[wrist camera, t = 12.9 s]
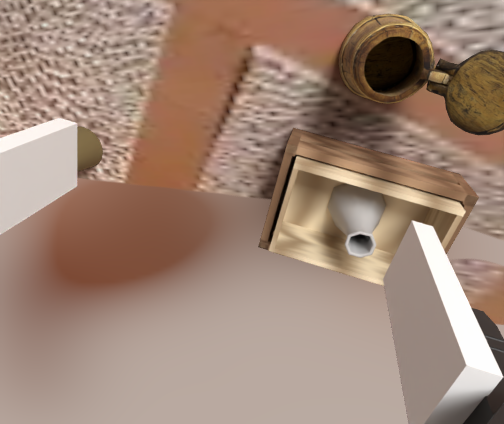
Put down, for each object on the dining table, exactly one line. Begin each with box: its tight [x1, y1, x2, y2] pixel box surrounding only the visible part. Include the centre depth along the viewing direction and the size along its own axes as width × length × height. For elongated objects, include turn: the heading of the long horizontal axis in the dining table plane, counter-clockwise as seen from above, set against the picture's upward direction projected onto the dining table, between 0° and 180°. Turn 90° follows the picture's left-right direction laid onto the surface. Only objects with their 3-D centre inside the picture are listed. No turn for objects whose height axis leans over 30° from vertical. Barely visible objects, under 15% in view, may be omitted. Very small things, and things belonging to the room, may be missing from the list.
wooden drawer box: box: [259, 128, 479, 254], centre depth 47 cm, size 21×14×7 cm, turn 77°
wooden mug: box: [339, 14, 504, 135], centre depth 34 cm, size 9×14×18 cm, turn 77°
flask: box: [328, 183, 386, 258], centre depth 44 cm, size 7×7×10 cm
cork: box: [77, 127, 103, 172], centre depth 50 cm, size 6×6×11 cm
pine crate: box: [269, 155, 466, 286], centre depth 46 cm, size 18×12×8 cm, turn 77°
